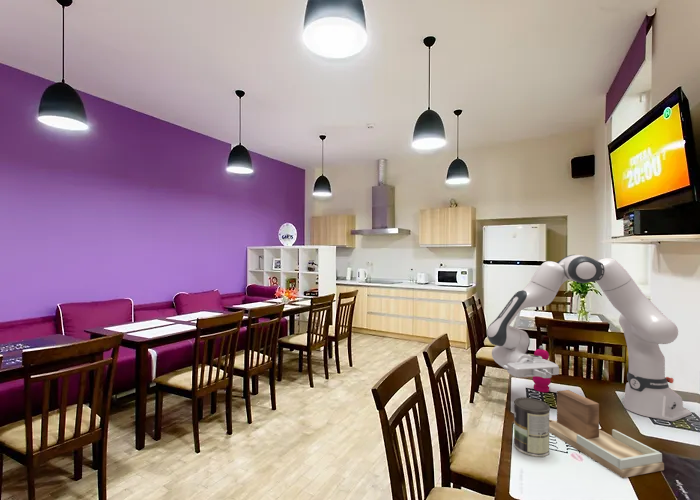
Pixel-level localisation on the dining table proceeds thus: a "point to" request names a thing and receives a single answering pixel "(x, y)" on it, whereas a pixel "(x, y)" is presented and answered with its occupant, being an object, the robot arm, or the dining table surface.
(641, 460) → the sage frame
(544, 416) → the coffee can
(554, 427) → the birch board
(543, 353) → the pepper mill
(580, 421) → the walnut box
